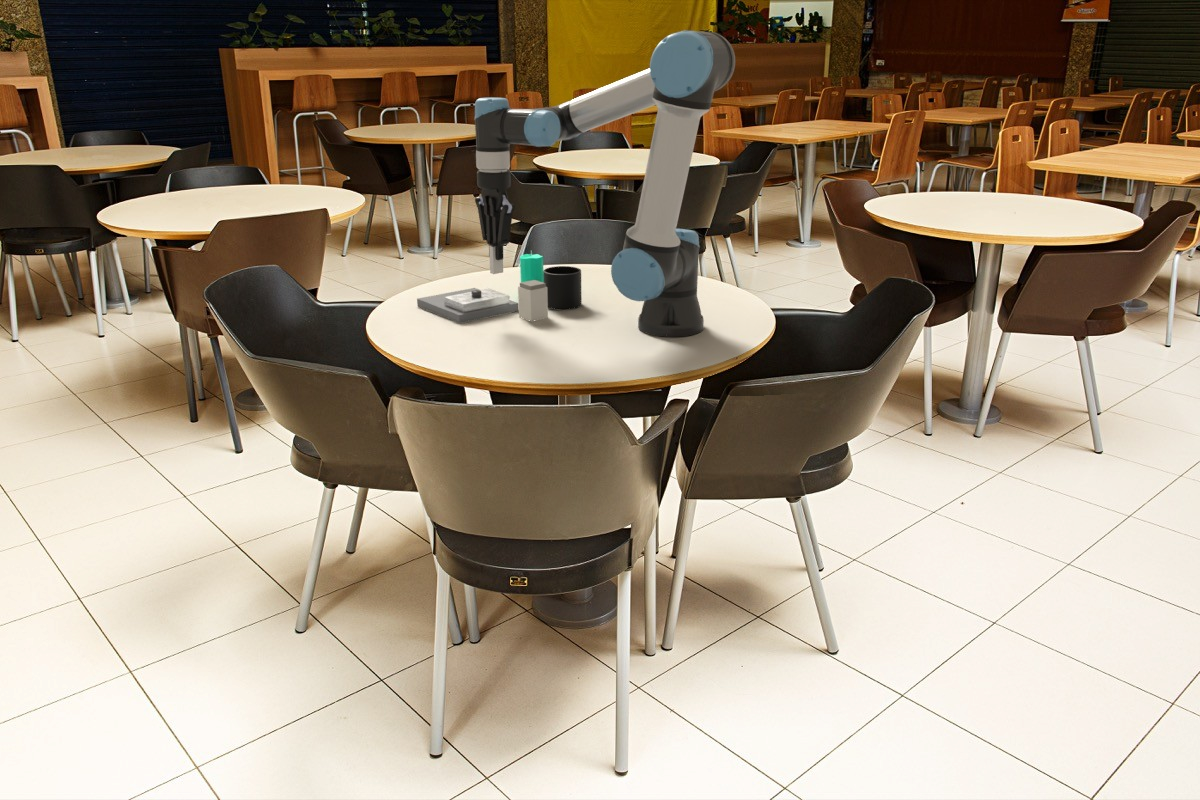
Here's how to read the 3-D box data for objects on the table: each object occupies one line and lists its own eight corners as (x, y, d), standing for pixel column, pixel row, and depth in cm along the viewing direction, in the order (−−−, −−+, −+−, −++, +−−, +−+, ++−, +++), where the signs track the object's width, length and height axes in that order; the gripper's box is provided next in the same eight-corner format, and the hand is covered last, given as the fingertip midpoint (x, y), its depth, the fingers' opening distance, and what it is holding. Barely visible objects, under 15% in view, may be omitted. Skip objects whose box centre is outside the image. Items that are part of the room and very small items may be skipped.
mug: (584, 298, 241) (584, 264, 237) (579, 310, 230) (579, 274, 226) (548, 297, 241) (547, 263, 238) (541, 310, 230) (540, 274, 227)
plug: (548, 317, 224) (547, 283, 221) (531, 321, 221) (530, 286, 218) (535, 313, 227) (534, 279, 224) (519, 317, 224) (517, 282, 221)
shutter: (509, 303, 228) (508, 290, 227) (464, 312, 221) (463, 299, 219) (489, 296, 235) (488, 283, 234) (444, 304, 227) (443, 292, 226)
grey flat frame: (518, 310, 229) (518, 303, 229) (459, 323, 219) (459, 315, 219) (474, 295, 244) (474, 287, 243) (417, 306, 234) (416, 298, 233)
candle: (543, 298, 241) (541, 252, 236) (520, 298, 241) (518, 252, 236) (544, 292, 246) (543, 247, 242) (522, 292, 246) (520, 247, 242)
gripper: (524, 171, 206) (526, 275, 215) (491, 165, 215) (494, 265, 224) (495, 174, 202) (498, 280, 210) (463, 167, 211) (468, 269, 220)
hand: (496, 272), depth 217 cm, fingers closed
